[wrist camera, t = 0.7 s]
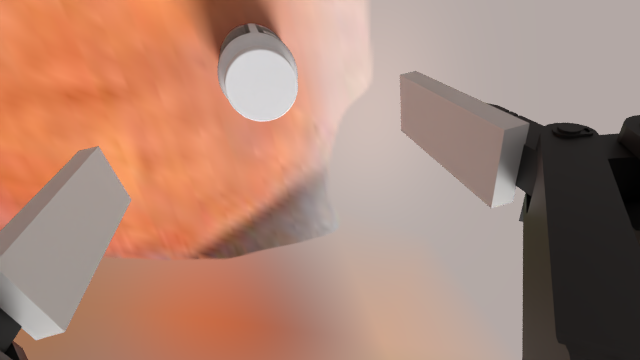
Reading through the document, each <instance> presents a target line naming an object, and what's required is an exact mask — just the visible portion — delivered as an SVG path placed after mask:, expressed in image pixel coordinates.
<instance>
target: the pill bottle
mask: <svg viewBox="0 0 640 360" xmlns="http://www.w3.org/2000/svg"><path fill="white" fill-rule="evenodd" d="M297 79H298V73H297V66H296V63H295V60H294V58H293V56H292V54H291V52H290V50H289V49H288V48H287V47H286V45H285V44H284V43H283V42H282V41H281V40H280V38H279V37H278V36H277V35H276V34H275V33H274V32H273V31H272V30H270V29H269V28H267V27H265V26H263V25H260V24H254V23H248V24H243V25H240V26H237V27H235V28H234V29H233V30H231V31H230V32H229V33H228V34H227V36H226V37H225V39H224V41H223V42H222V45H221V49H220V56H219V62H218V80H219V84H220V87H221V89H222V91H223V93H224V95H225V96H226V97H227V99H228V100H229V102H230V104H231V105H232V106H233V108H234V109H235V110H236V111H237V112H238V113H240V114H241V115H242V116H244V117H246V118H248V119H251V120H255V121H270V120H274V119H277V118H279V117H281V116H282V115H284V114H285V113H286V112H287V111H288V110H289V109H290V108H291V106H292V105H293V103H294V101H295V99H296V96H297V91H298V82H297Z"/></svg>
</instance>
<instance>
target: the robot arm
mask: <svg viewBox="0 0 640 360" xmlns="http://www.w3.org/2000/svg"><path fill="white" fill-rule="evenodd" d="M400 96H401V131H403V132H404V133H405V134H406V135H407V136H408V137H409V138H410V139H412V140H413V141H414V142H415V143H416V144H417V145H419V146H420V147H421V148H422V149H423V150H424V151H426V152H427V153H428V154H429V155H430V156H431V157H433V158H434V159H435V160H436V161H437V162H438V163H440V164H441V165H442V166H443V167H444V168H445V169H446V170H448V171H449V172H450V173H451V174H452V175H453V176H454V177H456V178H457V179H458V180H459V181H460V182H461V183H463V184H464V185H465V186H466V187H467V188H468V189H470V190H471V191H472V192H473V193H474V194H475V195H476V196H478V197H479V198H480V199H481V200H482V201H484V202H485V203H486V204H487V205H488V206H489V207H490V208H494V207H498V206H501V205H504V204H508V203H511V202H513V199H514V194H515V190H516V186H517V187H519V188H520V189H522V190H523V191H524V192H526V194H525V198H524V202H523V207H522V212H521V215H520V219H519V221H523V358H522V360H640V115H637V116H632V117H629V118H626V120H625V121H624V123H623V126H622V128H621V131H620V133H619V134H608V135H599V134H598V133H597V132H596V131H595V130H593V129H592V128H589V127H587V126H583V125H579V124H573V123H554V124H549V125H547V126H543V125H540V124H538V123H536V122H534V121H531V120H529V119H527V118H525V117H523V116H518V115H517V114H516V113H513V112H509V110H507V109H505V108H502V107H500V106H498V105H492V104H488V103H484V102H482V101H480V100H478V99H476V98H474V97H471V96H469V95H467V94H465V93H463V92H460V91H458V90H456V89H454V88H452V87H450V86H447V85H445V84H443V83H441V82H439V81H437V80H434V79H432V78H430V77H427V76H426V75H423V74H421V73H419V72H417V71H414V72H410V73H406V74H401V75H400ZM130 202H131V198H130V197H129V195H128V193H127V192H126V190H125V188H124V187H123V185H122V184H121V182H120V180H119V179H118V177H117V175H116V174H115V172H114V171H113V169H112V167H111V166H110V164H109V162H108V161H107V159H106V158H105V156H104V154H103V153H102V151H101V149H100V148H99V146H97V147H93V148H89V149H85V150H80V151H78V152H77V153H76V154H75V155H74V157H73V158H72V159H71V160H70V161H69V162H68V163H67V164H66V165H65V166H64V167H63V168H62V169H61V170H60V171H59V172H58V173H57V174H56V175H55V176H54V177H53V178H52V179H51V180H50V181H49V182H48V183H47V184H46V185H45V186H44V187H43V188H42V189H41V190H40V191H39V192H38V193H37V194H36V195H35V196H34V197H33V198H32V199H31V200H30V201H29V202H28V203H27V204H26V206H25V207H24V208H23V209H22V210H21V211H20V212H19V213H18V214H17V215H16V216H15V217H14V218H13V219H12V220H11V221H10V222H9V223H8V224H7V225H6V226H5V227H4V228H3V229H2V230H1V231H0V360H28V359H27V357H26V355H25V353H24V350H23V348H21V347H20V346H19V345H18V344H16V343H15V342H14V341H13V340H14V338H15V337H16V335H17V334H18V332H19V330H20V329H21V328H22V329H23V330H25V331H26V332H27V333H28V334H29V335H31V336H32V337H33V338H34V339H35V340H38V339H42V338H45V337H49V336H52V335H56V334H59V333H63V332H65V330H66V328H67V326H68V324H69V322H70V321H71V319H72V317H73V315H74V313H75V310H76V308H77V307H78V305H79V303H80V301H81V299H82V297H83V295H84V293H85V291H86V289H87V287H88V285H89V283H90V281H91V279H92V276H93V275H94V273H95V271H96V269H97V267H98V265H99V263H100V261H101V259H102V257H103V255H104V253H105V251H106V249H107V247H108V245H109V243H110V241H111V239H112V237H113V235H114V233H115V231H116V229H117V227H118V225H119V223H120V221H121V219H122V217H123V215H124V213H125V211H126V209H127V207H128V205H129V203H130Z"/></svg>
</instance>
